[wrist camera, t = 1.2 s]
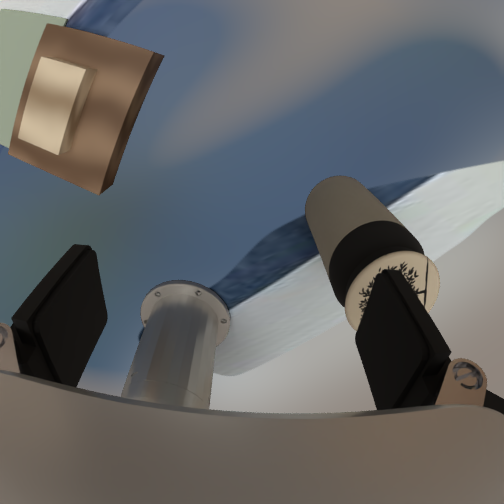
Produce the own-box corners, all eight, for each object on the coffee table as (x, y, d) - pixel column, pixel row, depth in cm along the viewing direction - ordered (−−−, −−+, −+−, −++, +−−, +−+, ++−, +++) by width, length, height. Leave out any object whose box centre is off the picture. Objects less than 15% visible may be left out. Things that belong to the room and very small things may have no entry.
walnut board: (112, 184, 35) (99, 195, 32) (26, 146, 32) (8, 154, 29) (164, 55, 28) (153, 51, 25) (64, 26, 25) (46, 23, 22)
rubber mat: (24, 153, 33) (23, 154, 32) (-32, 128, 30) (-33, 129, 29) (68, 19, 25) (66, 18, 25) (3, 9, 22) (1, 8, 22)
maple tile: (70, 150, 29) (58, 155, 27) (30, 133, 28) (17, 138, 26) (97, 70, 25) (85, 69, 23) (54, 57, 24) (41, 56, 22)
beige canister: (305, 240, 39) (338, 348, 23) (303, 176, 35) (346, 255, 19) (367, 235, 39) (430, 333, 23) (370, 173, 35) (453, 245, 19)
